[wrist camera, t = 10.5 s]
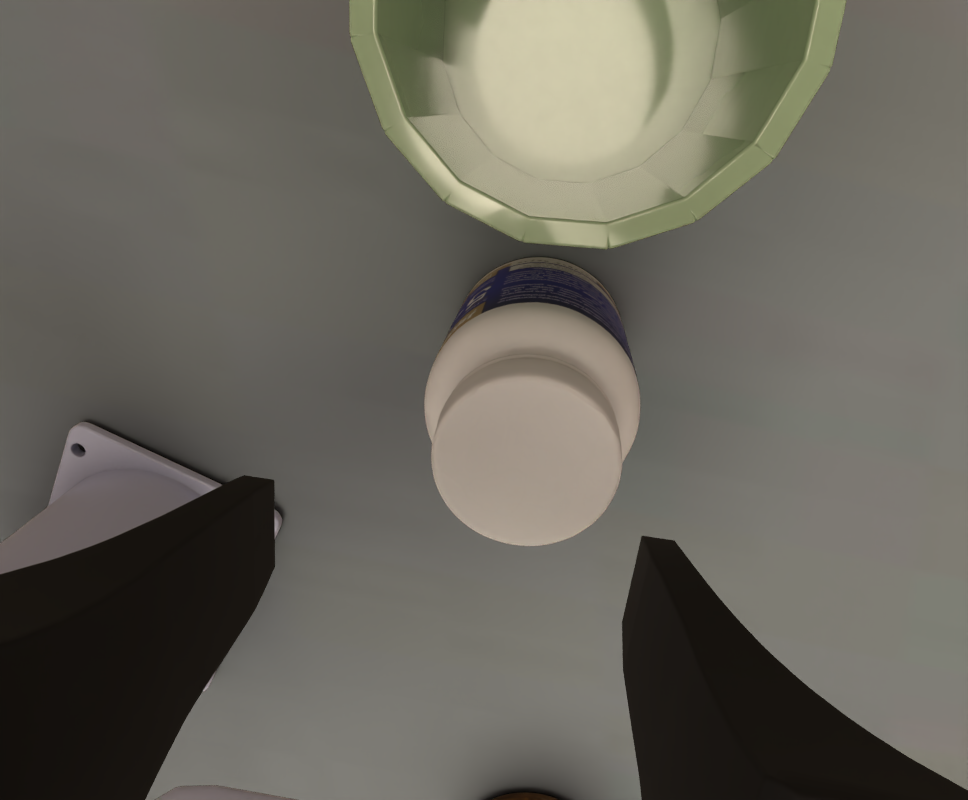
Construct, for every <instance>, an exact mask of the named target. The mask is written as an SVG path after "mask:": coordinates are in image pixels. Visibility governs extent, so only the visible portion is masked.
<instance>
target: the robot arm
mask: <svg viewBox="0 0 968 800" xmlns="http://www.w3.org/2000/svg"><path fill="white" fill-rule="evenodd" d="M78 444H80V445H82V446H83V447H84V449H85V452H84V451H82V450H81V449H80V448H79V446H78ZM281 524H282V518H281V515H280V514H279V513H278V511H276V510H275V509H274V480H271V479H265V478H258V477H251V476H245V475H244V476H242V477H239V478H237V479H234V480H232V481H230V482H228V483H226V484H224V485H222V484H220V483H217V482H215V481H213V480H211V479H209V478H207V477H205V476H202V475H200V474H198V473H196V472H194V471H192V470H190V469H187V468H185V467H183V466H181V465H179V464H177V463H175V462H172V461H170V460H168V459H166V458H164V457H162V456H160V455H157V454H155V453H153V452H151V451H149V450H147V449H145V448H142V447H140V446H138V445H136V444H134V443H132V442H130V441H127V440H125V439H123V438H121V437H119V436H117V435H115V434H112V433H110V432H108V431H106V430H104V429H102V428H100V427H97V426H95V425H93V424H91V423H87V422H80V423H79V424H77V425H75V426H74V427H72V428H71V429H70V431H69V433H68V437H67V441H66V444H65V448H64V451H63V455H62V458H61V462H60V465H59V469H58V472H57V476H56V480H55V483H54V487H53V490H52V494H51V497H50V501H49V504H48V507H47V508H46V509H44V510H43V511H42V512H40V513H39V514H38V515H37V516H35V517H34V518H33V519H31V520H30V521H29V522H28V523H26V524H25V525H24V526H22V527H21V528H20V529H18V530H17V531H16V532H15V533H13V534H12V535H11V536H9V537H8V538H7V539H6V540H4V541H3V542H2V543H0V800H145V799H146V797H147V795H148V793H149V790H150V788H151V786H152V784H153V782H154V780H155V778H156V776H157V774H158V772H159V770H160V768H161V766H162V764H163V762H164V760H165V758H166V756H167V754H168V752H169V750H170V748H171V746H172V744H173V742H174V740H175V738H176V736H177V734H178V732H179V730H180V728H181V726H182V724H183V723H184V721H185V719H186V717H187V716H188V714H189V712H190V711H191V709H192V707H193V706H194V704H195V702H196V701H197V699H198V697H199V696H200V694H201V693H202V692H203V691H205V690H206V689H207V688H208V687H209V685H210V684H211V682H212V680H213V677H214V675H215V673H216V671H217V668H218V667H219V665H220V664H221V662H222V661H223V659H224V657H225V656H226V654H227V653H228V651H229V650H230V648H231V647H232V645H233V644H234V642H235V641H236V639H237V637H238V636H239V634H240V633H241V631H242V630H243V628H244V626H245V625H246V623H247V622H248V620H249V619H250V617H251V615H252V614H253V612H254V610H255V609H256V607H257V605H258V602H259V600H260V598H261V596H262V594H263V592H264V590H265V588H266V585H267V583H268V581H269V579H270V576H271V574H272V572H273V570H274V567H275V538H276V536H277V534H278V531H279V529H280V527H281ZM622 641H623V672H624V679H625V686H626V693H627V699H628V706H629V713H630V719H631V726H632V732H633V739H634V745H635V752H636V758H637V765H638V771H639V778H640V787H641V797H642V800H968V790H966V789H964V788H962V787H960V786H959V785H957V784H955V783H953V782H952V781H950V780H948V779H946V778H944V777H943V776H941V775H939V774H937V773H935V772H934V771H932V770H930V769H928V768H926V767H925V766H923V765H921V764H919V763H918V762H916V761H914V760H912V759H910V758H909V757H907V756H906V755H904V754H902V753H901V752H899V751H898V750H896V749H895V748H893V747H891V746H890V745H888V744H887V743H885V742H884V741H882V740H881V739H879V738H877V737H876V736H874V735H873V734H871V733H870V732H868V731H867V730H865V729H864V728H862V727H861V726H860V725H858V724H857V723H855V722H854V721H852V720H851V719H850V718H848V717H847V716H845V715H844V714H843V713H841V712H840V711H839V710H837V709H836V708H835V707H834V706H832V705H831V704H830V703H828V702H827V701H826V700H824V699H823V698H822V697H820V696H819V695H818V694H816V693H815V692H814V691H813V690H812V689H810V688H809V687H808V686H807V685H805V684H804V683H803V682H802V681H801V680H799V679H798V678H797V677H796V676H795V675H794V674H793V673H792V672H790V671H789V670H788V669H787V668H786V667H785V666H784V665H783V664H782V663H780V662H779V661H778V660H777V659H776V658H775V657H774V656H773V655H772V654H771V653H770V652H769V651H768V650H767V649H765V648H764V647H763V646H762V645H761V644H760V643H759V642H758V640H757V639H756V638H755V637H754V636H753V635H752V634H751V633H750V632H749V631H748V630H747V629H746V628H745V627H744V626H743V625H742V624H741V623H740V621H739V620H738V619H737V618H736V617H735V616H734V615H733V614H732V612H731V611H730V610H729V609H728V608H727V607H726V606H725V604H724V603H723V602H722V601H721V600H720V598H719V597H718V596H717V595H716V594H715V592H714V591H713V590H712V589H711V587H710V586H709V585H708V584H707V582H706V581H705V580H704V579H703V577H702V576H701V575H700V573H699V572H698V571H697V570H696V568H695V567H694V566H693V564H692V563H691V562H690V560H689V559H688V558H687V557H686V555H685V554H684V553H683V551H682V550H681V549H680V547H679V546H678V545H677V544H676V542H675V541H673V540H666V539H660V538H653V537H647V536H642V537H641V542H640V546H639V551H638V555H637V559H636V564H635V568H634V573H633V577H632V581H631V586H630V590H629V595H628V599H627V603H626V608H625V612H624V617H623V621H622ZM155 800H297V799H291V798H285V797H280V796H274V795H269V794H263V793H257V792H252V791H246V790H241V789H235V788H230V787H224V786H218V785H206V786H180V787H175V788H174V789H172V790H170V791H169V792H167V793H165V794H163V795H162V796H160V797H158V798H157V799H155Z"/></svg>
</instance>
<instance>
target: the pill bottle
mask: <svg viewBox="0 0 968 800" xmlns="http://www.w3.org/2000/svg"><path fill="white" fill-rule="evenodd" d="M424 409H425V420H426V425H427V430H428V433H429V436H430V439H431V441H432V450H431V463H432V471H433V476H434V480H435V483H436V486H437V488H438V490H439V493H440V495H441V497H442V498H443V500H444V501H445V503H446V505H447V506H448V508H449V509H450V510H451V511H452V512H453V514H454V515H455V516H456V517H458V518H459V519H460V520H461V521H462V522H463V523H464V524H466V525H467V526H468V527H470V528H471V529H473V530H474V531H476V532H478V533H479V534H481V535H484V536H486V537H488V538H491V539H493V540H496V541H500V542H502V543H507V544H513V545H521V546H537V545H546V544H551V543H555V542H559V541H562V540H565V539H568V538H570V537H572V536H574V535H576V534H578V533H580V532H581V531H583V530H584V529H586V528H587V527H589V526H590V525H591V524H593V523H594V522H595V521H596V520H597V519H598V518H599V517H600V516H601V515H602V514H603V512H604V511H605V510H606V509H607V507H608V505H609V504H610V502H611V501H612V499H613V497H614V495H615V493H616V491H617V488H618V485H619V482H620V477H621V472H622V462H623V461H624V459H625V457H626V456H627V454H628V452H629V451H630V449H631V446H632V444H633V442H634V439H635V436H636V433H637V430H638V425H639V419H640V391H639V385H638V380H637V375H636V371H635V368H634V365H633V361H632V357H631V353H630V349H629V346H628V343H627V339H626V335H625V332H624V328H623V324H622V321H621V317H620V314H619V312H618V309H617V307H616V305H615V303H614V301H613V299H612V298H611V296H610V294H609V293H608V291H607V290H606V289H605V288H604V286H603V285H602V284H601V283H600V282H599V281H598V280H597V279H596V278H594V277H593V276H592V275H591V274H589V273H588V272H586V271H585V270H583V269H581V268H580V267H578V266H576V265H573V264H571V263H568V262H566V261H563V260H559V259H554V258H546V257H531V258H524V259H519V260H515V261H512V262H509V263H506V264H504V265H502V266H500V267H498V268H496V269H494V270H493V271H491V272H490V273H488V274H487V275H486V276H484V277H483V278H482V279H481V280H480V281H479V282H478V283H477V284H476V285H475V286H474V287H473V289H472V290H471V291H470V293H469V294H468V296H467V298H466V299H465V301H464V302H463V304H462V306H461V308H460V310H459V312H458V314H457V316H456V318H455V320H454V322H453V324H452V326H451V328H450V330H449V332H448V334H447V336H446V338H445V340H444V342H443V345H442V347H441V349H440V350H439V353H438V355H437V357H436V359H435V361H434V364H433V366H432V369H431V371H430V374H429V378H428V381H427V385H426V391H425V401H424Z"/></svg>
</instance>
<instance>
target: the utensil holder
mask: <svg viewBox="0 0 968 800" xmlns="http://www.w3.org/2000/svg"><path fill="white" fill-rule="evenodd" d="M492 800H559V799H556V798H554V797H551V796H547V795H543V794H538V793H511V794H506V795H502V796H499V797H496V798H494V799H492Z"/></svg>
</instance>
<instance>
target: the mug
mask: <svg viewBox="0 0 968 800" xmlns="http://www.w3.org/2000/svg"><path fill="white" fill-rule="evenodd" d="M846 2H847V0H349V34H350V37H352V38H351V43H352V46H353V49H354V52H355V54H356V57H357V60H358V63H359V65H360V68H361V71H362V74H363V77H364V79H365V82H366V85H367V88H368V90H369V93H370V96H371V99H372V101H373V104H374V107H375V110H376V112H377V115H378V118H379V121H380V123H381V126H382V129H383V130H384V131H385V134H386V136H387V137H388V138H389V139H390V140H391V142H392V143H393V144H394V145H395V146H396V147H397V149H398V150H399V151H400V152H401V153H402V154H403V156H404V157H405V158H406V159H407V160H408V161H409V163H410V164H411V165H412V166H413V167H414V168H415V170H416V171H417V172H418V173H419V174H420V175H421V177H422V178H423V179H424V180H425V181H426V182H427V184H428V185H429V186H430V187H431V188H432V189H433V191H434V192H435V193H436V194H437V195H438V196H439V198H440V199H441V200H442V201H445V203H446V204H448V205H450V206H452V207H454V208H455V209H457V210H459V211H461V212H463V213H465V214H467V215H469V216H471V217H473V218H475V219H477V220H479V221H481V222H482V223H484V224H486V225H488V226H490V227H492V228H494V229H496V230H498V231H500V232H502V233H504V234H506V235H508V236H510V237H511V238H513V239H515V240H517V241H522V242H524V243H531V244H543V245H556V246H568V247H580V248H592V249H608V248H609V249H613V248H616V247H619V246H622V245H625V244H629V243H632V242H635V241H638V240H641V239H644V238H648V237H651V236H654V235H657V234H660V233H663V232H667V231H670V230H673V229H676V228H679V227H682V226H686V225H689V224H692V223H694V222H695V220H696V221H697V220H699V219H701V218H702V217H703V216H705V215H706V214H707V213H708V212H710V211H711V210H712V209H713V208H715V207H716V206H717V205H718V204H720V203H721V202H722V201H724V200H725V199H726V198H727V197H729V196H730V195H731V194H732V193H734V192H735V191H736V190H737V189H739V188H740V187H741V186H743V185H744V184H745V183H746V182H748V181H749V180H750V179H751V178H753V177H754V176H755V175H756V174H758V173H759V172H760V171H761V170H763V169H764V168H765V167H767V166H768V165H769V164H770V163H771V162H772V161H773V160H772V159H775V158H776V157H777V155H778V154H779V152H780V150H781V149H782V147H783V146H784V144H785V142H786V141H787V139H788V138H789V136H790V134H791V133H792V131H793V130H794V128H795V126H796V125H797V123H798V122H799V120H800V118H801V117H802V115H803V114H804V112H805V110H806V109H807V107H808V106H809V104H810V102H811V101H812V99H813V98H814V96H815V94H816V93H817V91H818V90H819V88H820V86H821V85H822V83H823V82H824V80H825V78H826V77H827V75H828V74H829V72H830V68H831V66H832V64H833V60H834V55H835V51H836V46H837V42H838V38H839V33H840V29H841V24H842V20H843V15H844V11H845V6H846Z"/></svg>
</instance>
